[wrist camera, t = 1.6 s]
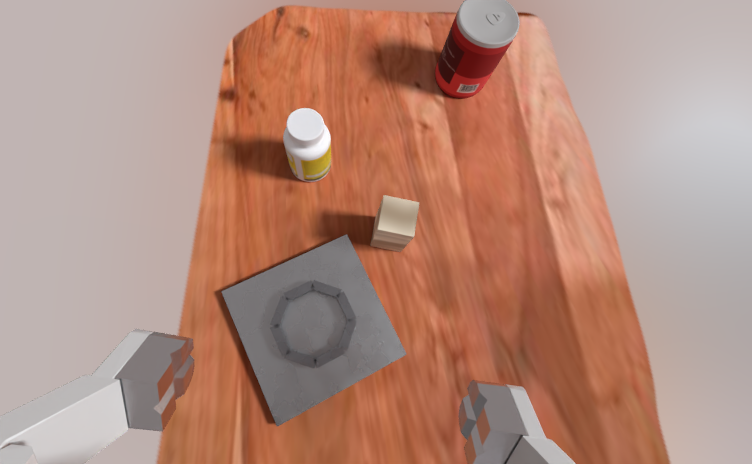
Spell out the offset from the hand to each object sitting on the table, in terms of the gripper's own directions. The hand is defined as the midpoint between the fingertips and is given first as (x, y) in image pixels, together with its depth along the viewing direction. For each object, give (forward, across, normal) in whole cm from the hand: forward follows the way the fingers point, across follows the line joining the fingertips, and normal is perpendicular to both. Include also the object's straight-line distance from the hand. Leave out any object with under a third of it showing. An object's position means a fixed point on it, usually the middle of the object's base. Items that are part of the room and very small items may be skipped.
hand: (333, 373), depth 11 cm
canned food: (+52, +12, +7) cm, 54 cm away
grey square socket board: (+26, -2, -22) cm, 34 cm away
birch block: (+34, +5, -12) cm, 37 cm away
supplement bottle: (+40, -7, -7) cm, 41 cm away
